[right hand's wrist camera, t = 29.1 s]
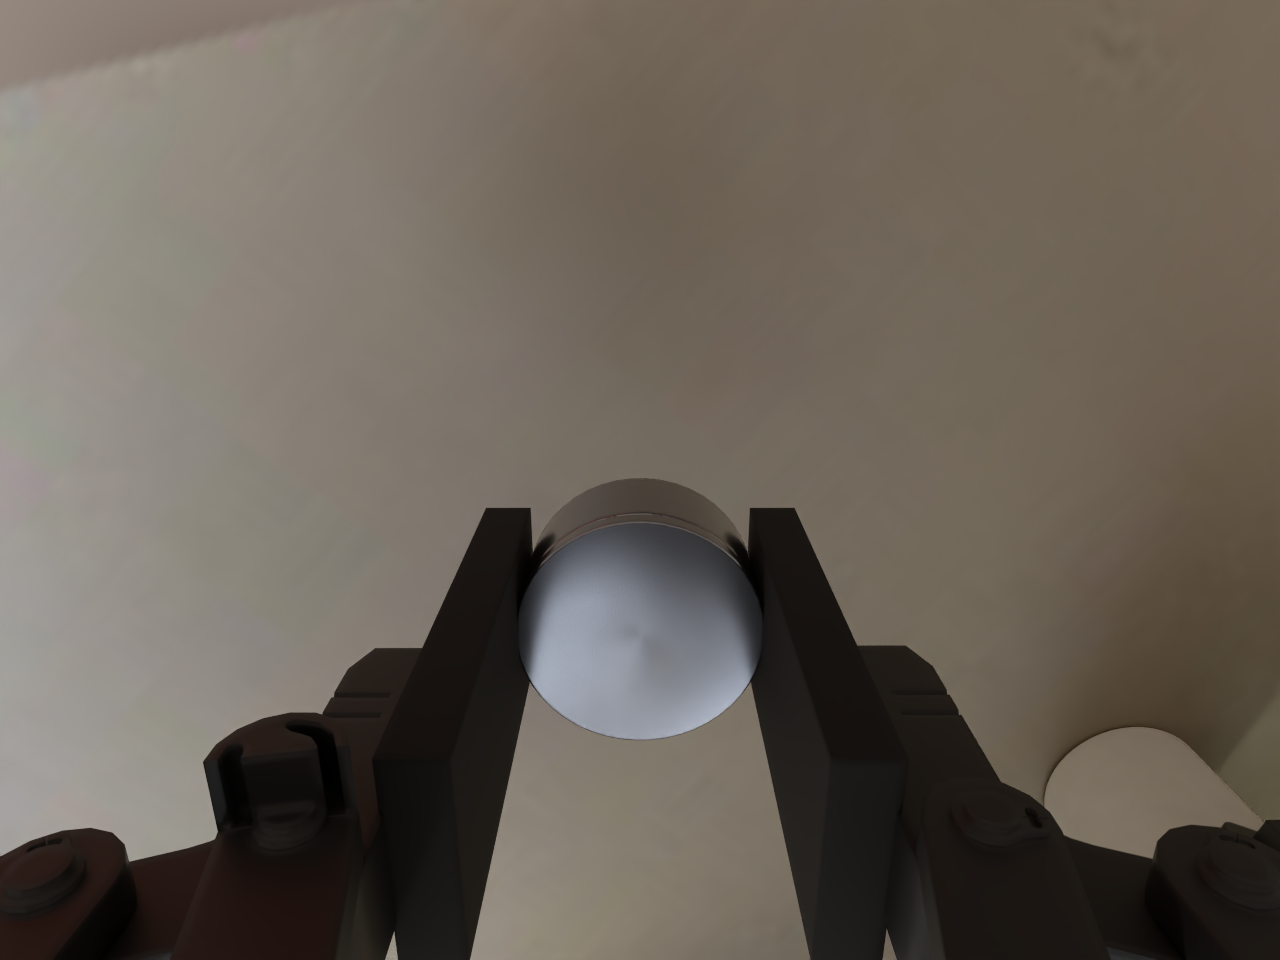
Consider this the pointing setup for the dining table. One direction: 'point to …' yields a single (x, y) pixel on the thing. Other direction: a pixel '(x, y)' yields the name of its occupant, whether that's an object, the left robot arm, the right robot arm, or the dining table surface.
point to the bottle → (1138, 791)
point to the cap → (640, 611)
